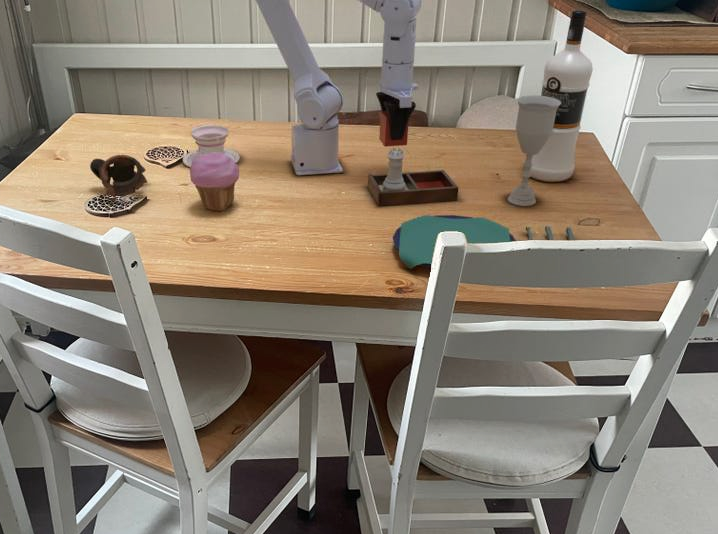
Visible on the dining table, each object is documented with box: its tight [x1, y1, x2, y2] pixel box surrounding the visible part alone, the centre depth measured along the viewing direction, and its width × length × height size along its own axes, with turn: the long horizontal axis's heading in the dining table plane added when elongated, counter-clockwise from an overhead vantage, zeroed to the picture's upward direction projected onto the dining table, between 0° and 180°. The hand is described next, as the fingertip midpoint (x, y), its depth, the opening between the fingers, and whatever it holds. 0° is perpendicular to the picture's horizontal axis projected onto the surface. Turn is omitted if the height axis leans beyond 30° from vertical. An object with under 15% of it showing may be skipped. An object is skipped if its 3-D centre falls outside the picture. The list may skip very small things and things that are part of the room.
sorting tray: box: [367, 169, 459, 207], centre depth 137 cm, size 15×9×2 cm, turn 98°
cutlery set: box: [392, 214, 575, 270], centre depth 117 cm, size 20×30×2 cm, turn 82°
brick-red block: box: [378, 110, 410, 147], centre depth 139 cm, size 4×4×6 cm
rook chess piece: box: [382, 147, 406, 192], centre depth 135 cm, size 4×4×8 cm
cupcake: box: [189, 152, 240, 212], centre depth 131 cm, size 9×9×10 cm
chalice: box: [507, 94, 561, 207], centre depth 129 cm, size 7×7×18 cm
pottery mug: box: [89, 154, 148, 203], centre depth 138 cm, size 12×10×8 cm
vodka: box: [530, 9, 594, 183], centre depth 136 cm, size 9×9×30 cm
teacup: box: [182, 124, 240, 168], centre depth 151 cm, size 12×12×6 cm
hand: (393, 135), depth 140 cm, fingers closed on brick-red block, 4 cm apart
